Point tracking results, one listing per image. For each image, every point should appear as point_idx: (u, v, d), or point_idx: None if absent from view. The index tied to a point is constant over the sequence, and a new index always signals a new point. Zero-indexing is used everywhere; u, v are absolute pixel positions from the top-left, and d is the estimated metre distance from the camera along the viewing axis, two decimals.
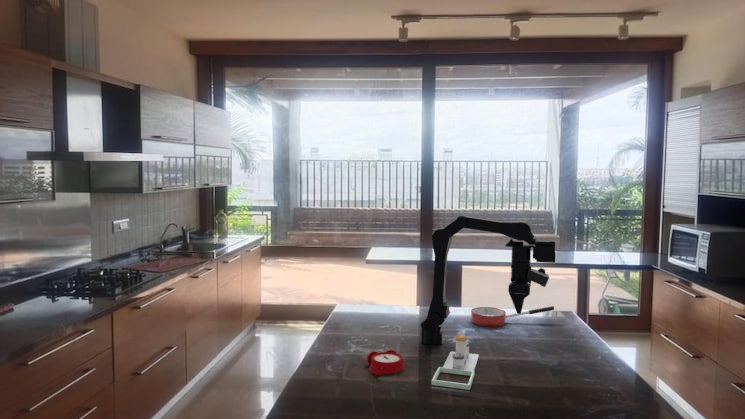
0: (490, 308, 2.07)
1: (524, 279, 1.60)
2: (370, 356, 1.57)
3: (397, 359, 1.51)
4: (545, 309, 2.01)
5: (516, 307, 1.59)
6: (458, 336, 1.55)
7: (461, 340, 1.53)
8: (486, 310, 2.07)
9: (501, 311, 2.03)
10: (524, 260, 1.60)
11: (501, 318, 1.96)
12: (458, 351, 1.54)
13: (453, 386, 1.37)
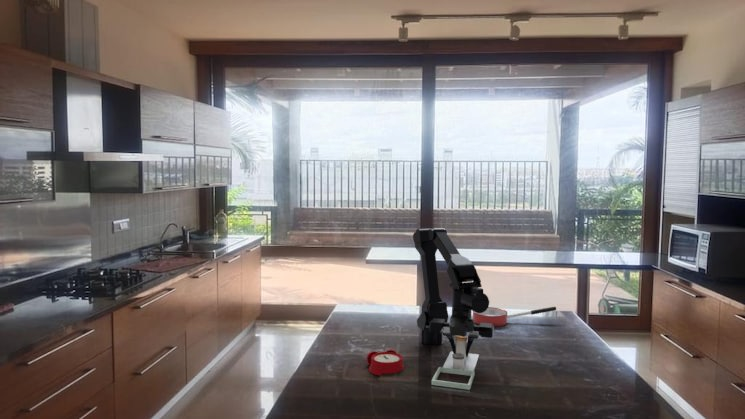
0: (492, 308, 2.06)
1: None
2: (370, 356, 1.57)
3: (397, 359, 1.51)
4: (547, 309, 2.00)
5: None
6: (458, 336, 1.55)
7: (461, 340, 1.53)
8: (488, 310, 2.06)
9: (503, 311, 2.03)
10: (456, 304, 1.52)
11: (503, 318, 1.96)
12: (458, 351, 1.54)
13: (453, 386, 1.37)
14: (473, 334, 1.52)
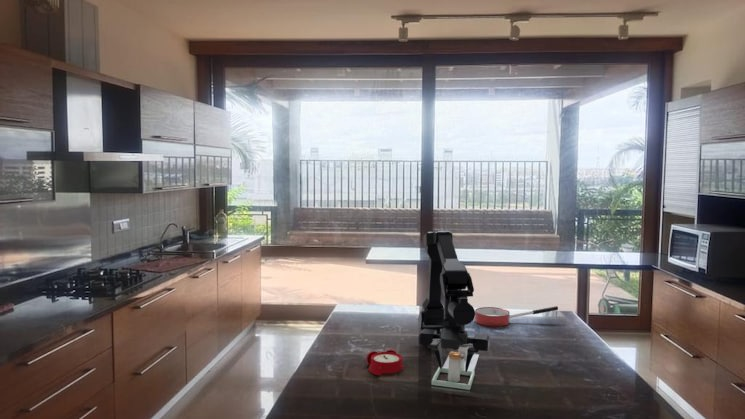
0: (494, 308, 2.07)
1: None
2: (370, 356, 1.57)
3: (396, 359, 1.51)
4: (549, 309, 2.01)
5: None
6: (452, 353, 1.42)
7: (455, 358, 1.40)
8: (490, 310, 2.07)
9: (505, 311, 2.03)
10: (446, 313, 1.40)
11: (505, 318, 1.96)
12: (451, 370, 1.41)
13: (453, 386, 1.37)
14: (473, 347, 1.39)
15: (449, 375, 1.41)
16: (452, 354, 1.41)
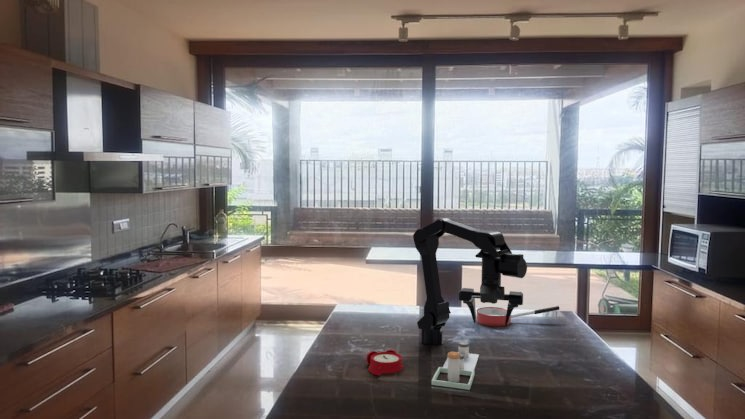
0: (495, 308, 2.07)
1: None
2: (370, 356, 1.57)
3: (396, 359, 1.51)
4: (550, 309, 2.01)
5: None
6: (450, 353, 1.42)
7: (454, 357, 1.40)
8: (491, 310, 2.07)
9: (506, 311, 2.03)
10: (489, 272, 1.53)
11: None
12: (450, 369, 1.41)
13: (453, 386, 1.37)
14: None
15: (449, 375, 1.41)
16: (450, 354, 1.42)
